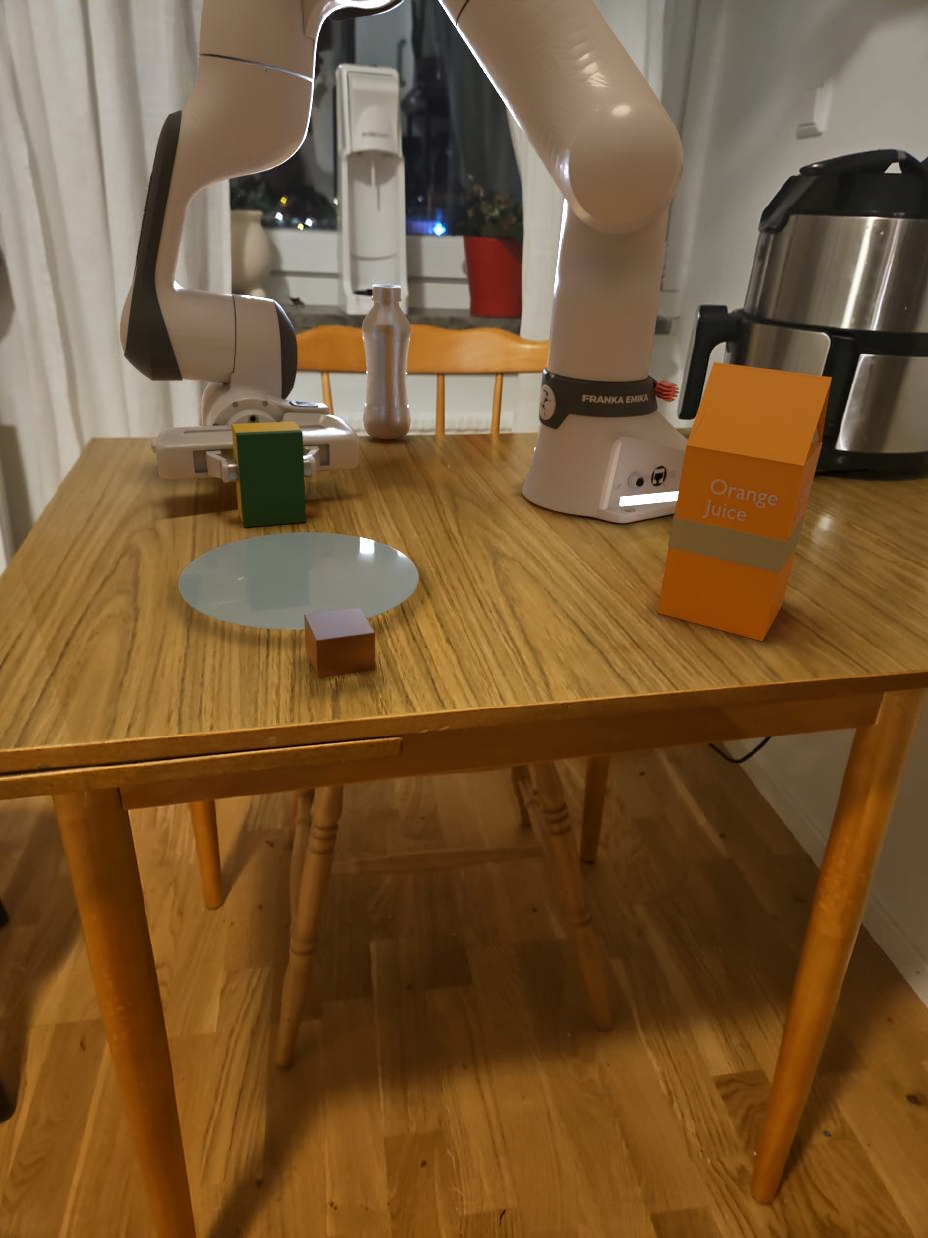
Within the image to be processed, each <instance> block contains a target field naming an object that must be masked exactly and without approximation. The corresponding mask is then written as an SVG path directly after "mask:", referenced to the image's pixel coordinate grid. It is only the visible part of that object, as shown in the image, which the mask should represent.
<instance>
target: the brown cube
mask: <svg viewBox="0 0 928 1238" xmlns="http://www.w3.org/2000/svg"><path fill="white" fill-rule="evenodd" d="M304 623H305V629H304V641H305V642H304V644H305V645H304V646H305V652H306V654H307V656H308V659H309V661H310V664H311V666H312V668H313V671H314V673H315V675H316V677H317V679H318V678H325V677H326V678H327V677H333V676H338V675H346V674H352V673H359V672H366V671H371V670H376V632H375V630H374V628H373V627H372V625H371V623H370V622H369V620H368V619H366V617H365V615H364V614H363V612H362V610H361V609H360V608H352V609H344V610H336V611H328V612H320V613H311V614H304Z"/></svg>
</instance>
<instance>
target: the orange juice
mask: <svg viewBox="0 0 928 1238" xmlns="http://www.w3.org/2000/svg"><path fill="white" fill-rule="evenodd" d="M712 363H713V364H712V366H711V370H710V372H709V375H708V379H707V381H706V385H705V387H704V390H703V394H702V396H701V400H700V402H699V405H698V409H697V412H696V415H695V417H694V422H693V424H692V427H691V429H690V433H689V436H688V439H687V440H688V442H687V445H686V451H685V456H684V462H683V468H682V474H681V479H680V485H679V491H678V497H677V502H676V508H675V513H674V514H673V517H672V523H671V528H670V533H669V539H668V546H667V547H668V549H667V555H666V560H665V567H664V572H663V577H662V585H661V590H660V596H659V600H658V607H657V612H656V613H657V614H660V615H663V616H667V617H670V618H675V619H678V620H682V621H686V622H689V623H693V624H697V625H700V626H704V627H708V628H712V629H715V630H718V631H722V632H725V633H729V634H733V635H737V636H740V637H745V638H748V639H752V640H755V641H760V642H764V640H765V638H766V636H767V634H768V632H769V630H770V628H771V627H772V626H773V623H774V621H775V619H776V618H777V616H778V614H779V612H780V611H781V609H782V606H783V601H784V598H785V594H786V590H787V586H788V581H789V578H790V575H791V570H792V566H793V562H794V557H795V554H796V549H797V546H798V545H799V540H800V536H801V532H802V528H803V524H804V521H805V516H806V509H807V506H808V502H809V498H810V495H811V491H812V486H813V481H814V477H815V475H816V474H815V470H816V468H817V466H818V462H819V458H820V454H821V451H822V446H823V435H824V429H825V423H826V416H827V409H828V404H829V397H830V391H831V386H832V385H831V384H832V380H833V377H832V376H825V375H817V374H810V373H801V372H793V371H787V370H779V369H770V368H762V367H755V366H748V365H739V364H732V363H725V362H718V361H713V362H712ZM814 474H815V475H814Z"/></svg>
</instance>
